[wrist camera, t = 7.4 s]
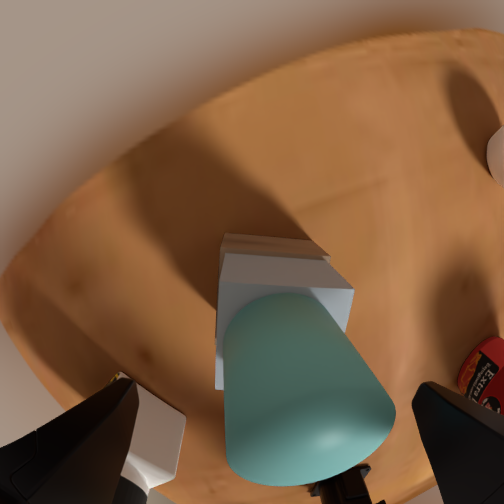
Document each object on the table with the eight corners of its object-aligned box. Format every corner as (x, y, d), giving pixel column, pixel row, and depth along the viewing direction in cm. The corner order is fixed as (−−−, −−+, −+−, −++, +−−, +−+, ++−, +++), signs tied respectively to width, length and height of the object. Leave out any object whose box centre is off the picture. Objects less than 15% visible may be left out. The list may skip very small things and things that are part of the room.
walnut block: (299, 318, 19) (312, 349, 15) (219, 313, 19) (214, 344, 15) (312, 240, 18) (330, 256, 14) (225, 232, 18) (220, 247, 14)
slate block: (309, 345, 15) (328, 390, 11) (220, 341, 15) (214, 389, 11) (325, 260, 14) (354, 289, 10) (225, 253, 14) (219, 281, 10)
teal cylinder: (348, 298, 10) (422, 377, 5) (318, 386, 11) (356, 475, 6) (230, 286, 10) (238, 386, 5) (217, 383, 11) (218, 486, 6)
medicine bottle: (120, 368, 20) (61, 482, 8) (188, 415, 21) (168, 534, 10) (89, 402, 21) (41, 493, 9) (148, 442, 22) (122, 537, 11)
